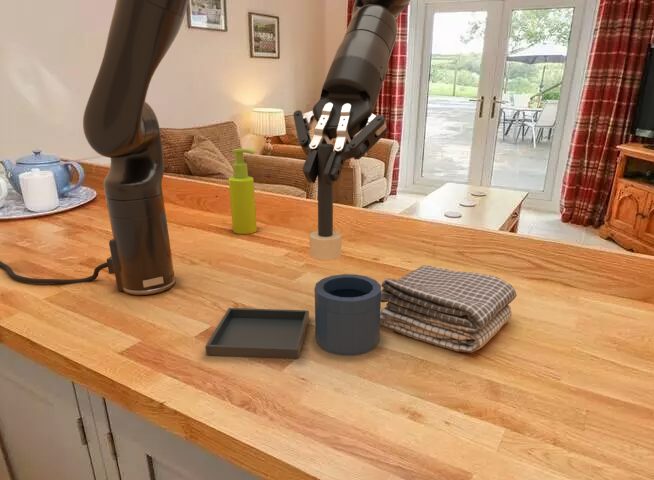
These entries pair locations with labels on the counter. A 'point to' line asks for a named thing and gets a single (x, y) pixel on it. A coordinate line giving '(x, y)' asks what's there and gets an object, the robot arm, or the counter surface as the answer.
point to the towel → (447, 307)
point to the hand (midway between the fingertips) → (318, 179)
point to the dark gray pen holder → (347, 314)
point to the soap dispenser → (242, 196)
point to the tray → (259, 333)
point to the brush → (324, 215)
